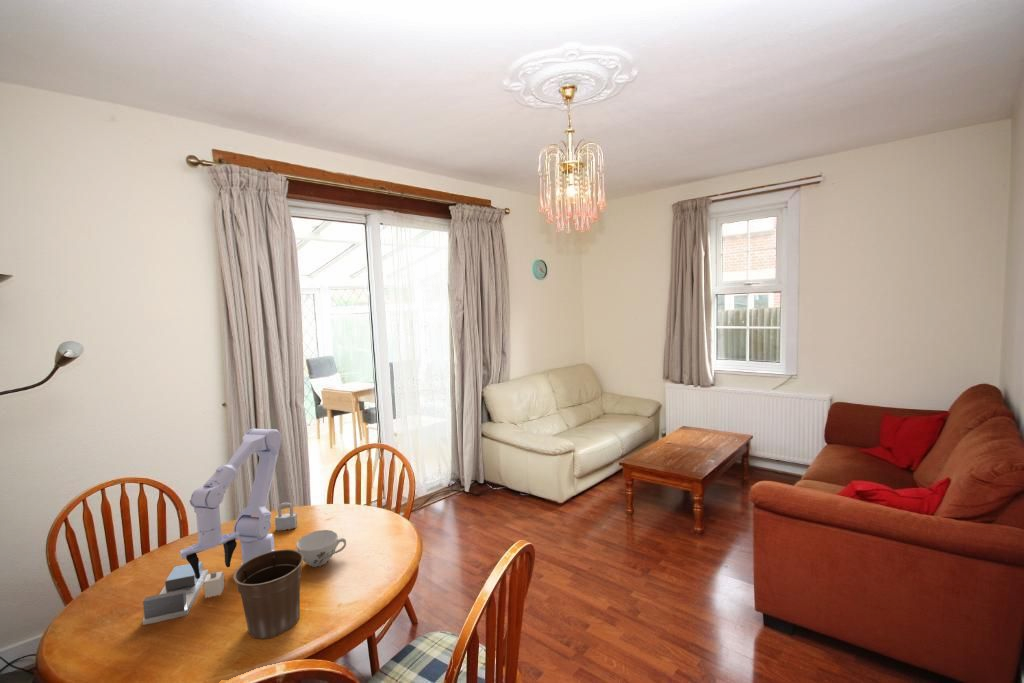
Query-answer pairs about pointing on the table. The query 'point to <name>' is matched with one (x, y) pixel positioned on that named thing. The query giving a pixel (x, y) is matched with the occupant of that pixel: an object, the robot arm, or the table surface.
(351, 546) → the table surface
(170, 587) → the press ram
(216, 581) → the block
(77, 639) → the table surface
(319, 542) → the teacup
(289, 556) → the plant pot
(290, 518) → the padlock
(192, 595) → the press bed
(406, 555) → the table surface
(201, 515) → the robot arm
